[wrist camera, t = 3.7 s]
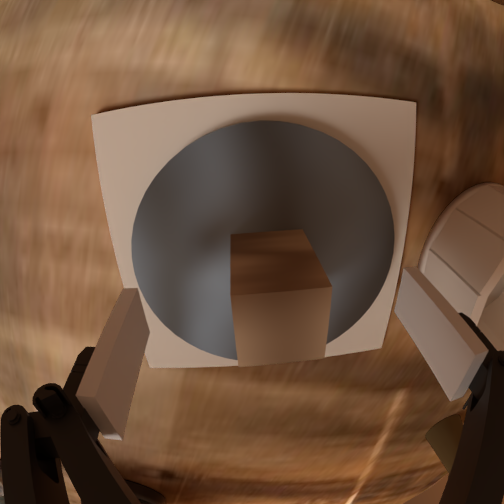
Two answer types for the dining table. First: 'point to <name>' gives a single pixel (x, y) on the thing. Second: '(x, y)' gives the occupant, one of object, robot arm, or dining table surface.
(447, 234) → the bowl
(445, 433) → the cork
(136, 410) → the dining table surface
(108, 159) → the mat
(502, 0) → the wooden carving
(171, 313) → the lid
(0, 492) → the mineral rock
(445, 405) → the dining table surface
